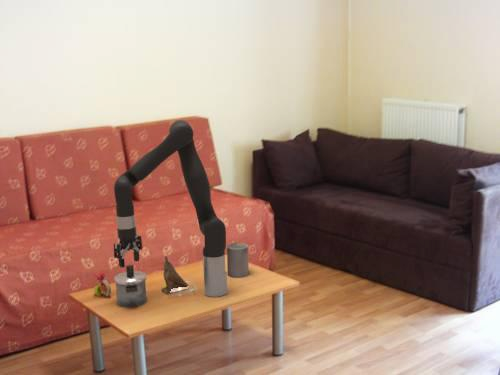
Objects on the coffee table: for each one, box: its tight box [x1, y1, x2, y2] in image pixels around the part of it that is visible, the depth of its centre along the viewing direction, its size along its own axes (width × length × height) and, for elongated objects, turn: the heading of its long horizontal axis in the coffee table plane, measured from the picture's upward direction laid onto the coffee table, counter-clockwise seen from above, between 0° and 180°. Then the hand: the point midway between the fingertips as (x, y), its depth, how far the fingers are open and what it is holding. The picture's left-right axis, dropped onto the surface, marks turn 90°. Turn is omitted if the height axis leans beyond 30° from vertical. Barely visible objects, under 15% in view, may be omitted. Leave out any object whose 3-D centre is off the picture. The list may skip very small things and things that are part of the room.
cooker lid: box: [113, 264, 147, 285], centre depth 291 cm, size 13×13×6 cm
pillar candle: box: [226, 242, 250, 279], centre depth 322 cm, size 10×10×15 cm
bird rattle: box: [93, 270, 112, 298], centre depth 301 cm, size 6×11×9 cm
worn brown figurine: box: [161, 255, 189, 295], centre depth 304 cm, size 12×6×18 cm, turn 122°
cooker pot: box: [114, 280, 148, 308], centre depth 293 cm, size 18×13×10 cm
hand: (129, 264), depth 291 cm, fingers open, 8 cm apart
